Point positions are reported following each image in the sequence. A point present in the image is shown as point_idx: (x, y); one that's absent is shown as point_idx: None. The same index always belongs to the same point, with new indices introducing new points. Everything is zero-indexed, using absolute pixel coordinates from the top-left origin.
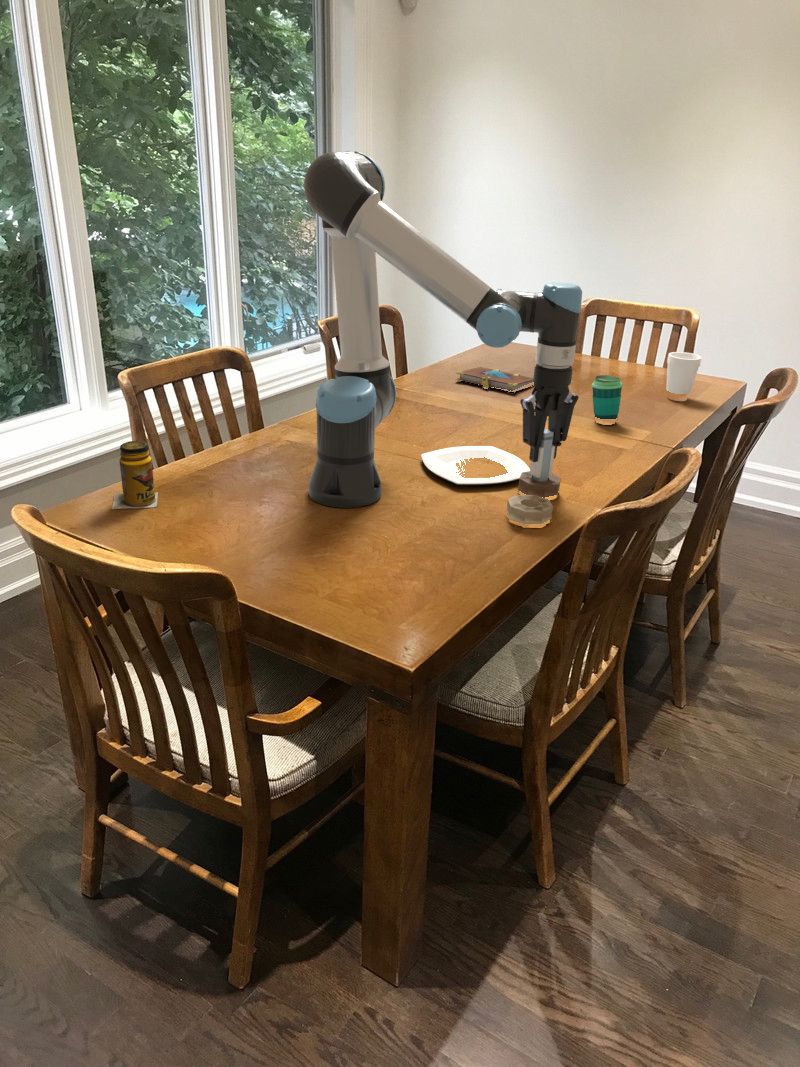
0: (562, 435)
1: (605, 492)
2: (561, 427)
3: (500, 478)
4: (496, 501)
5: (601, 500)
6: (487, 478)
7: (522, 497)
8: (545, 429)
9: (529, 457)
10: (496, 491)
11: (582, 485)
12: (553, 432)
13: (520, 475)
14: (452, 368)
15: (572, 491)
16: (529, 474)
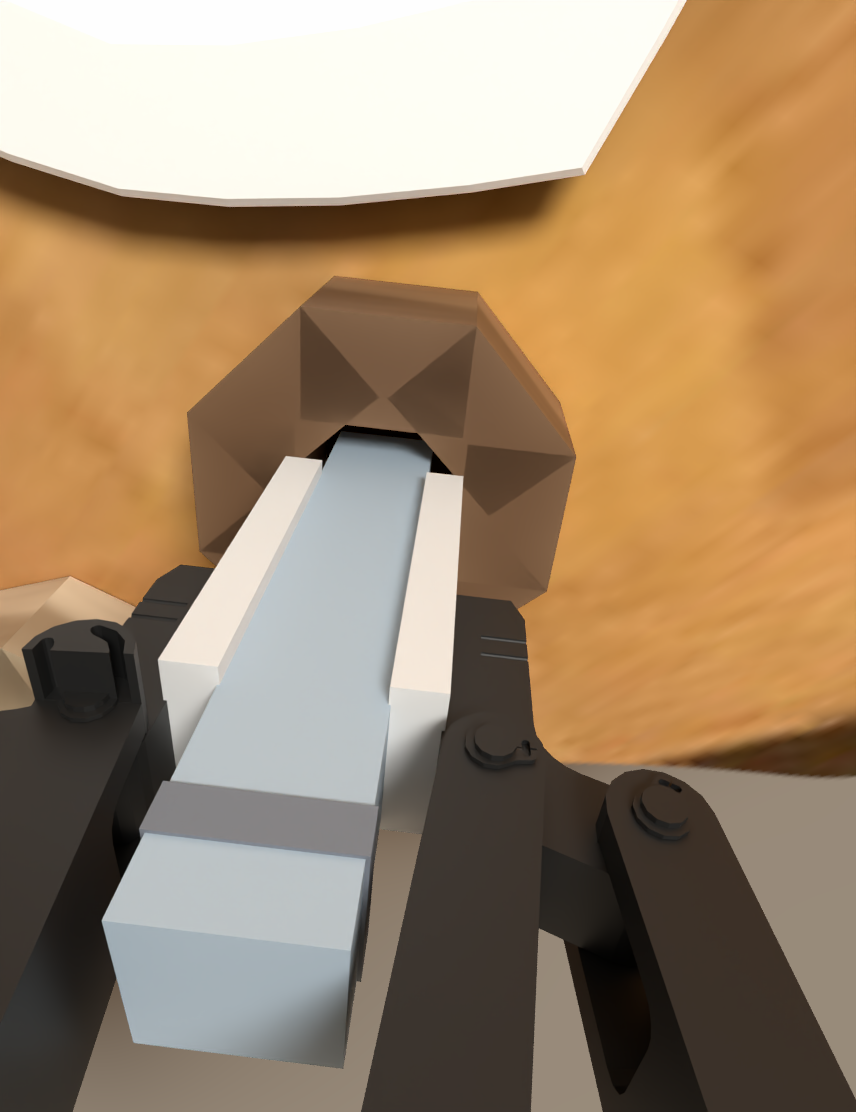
0: (579, 986)
1: (842, 656)
2: (635, 1105)
3: (158, 105)
4: (2, 395)
5: (690, 715)
6: (12, 20)
7: (15, 692)
8: (292, 954)
9: (152, 588)
10: (88, 225)
11: (842, 497)
12: (340, 1065)
13: (418, 148)
14: None
15: (663, 539)
16: (340, 390)
